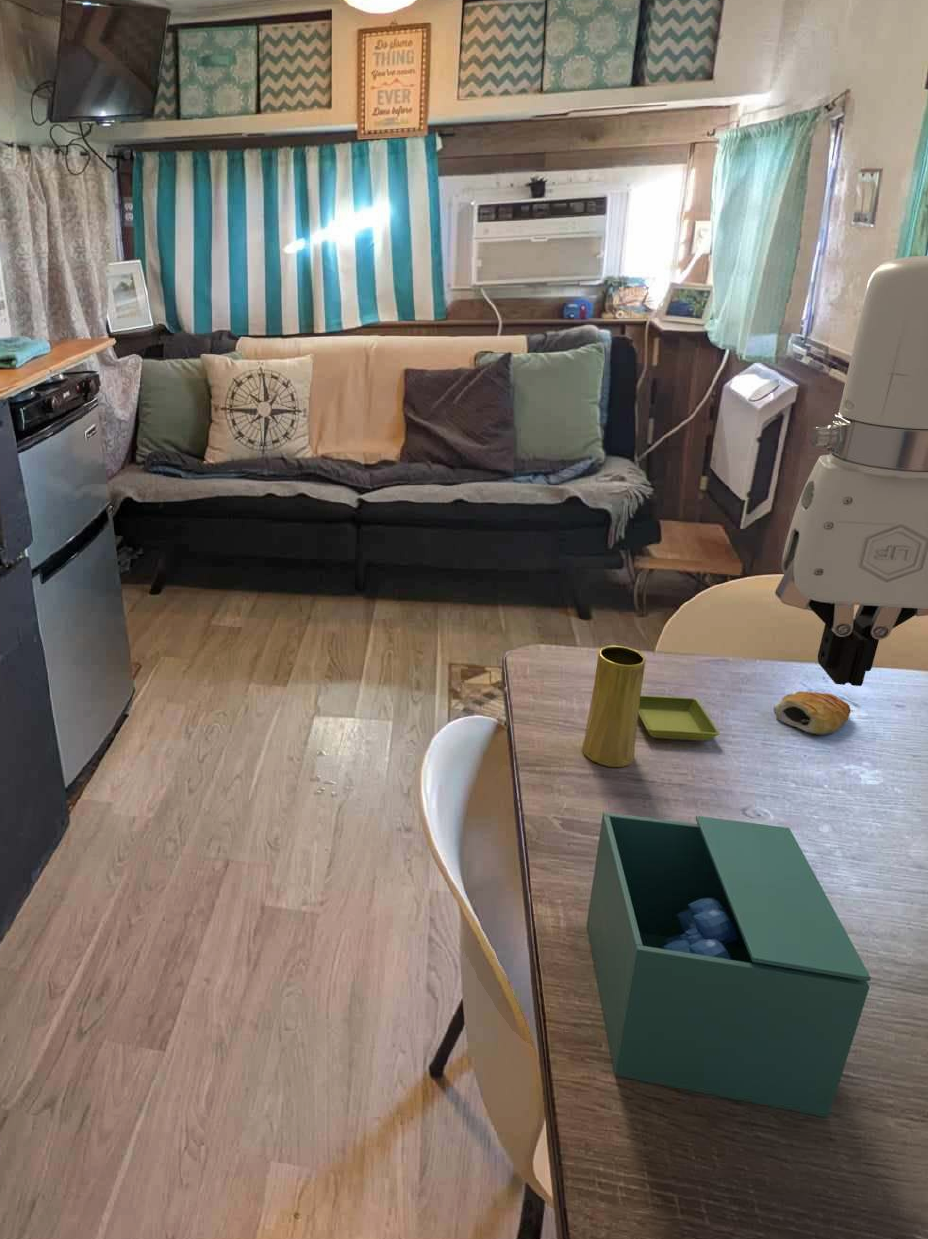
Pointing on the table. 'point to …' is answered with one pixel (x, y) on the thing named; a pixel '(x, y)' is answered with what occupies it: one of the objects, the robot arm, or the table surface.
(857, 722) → the table surface
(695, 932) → the grapes
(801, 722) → the pastry
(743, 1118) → the table surface
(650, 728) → the olive green shallow tray
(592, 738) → the vase
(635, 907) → the carton
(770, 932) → the flap
